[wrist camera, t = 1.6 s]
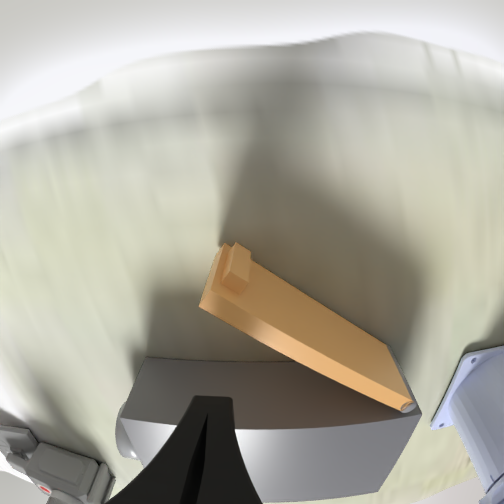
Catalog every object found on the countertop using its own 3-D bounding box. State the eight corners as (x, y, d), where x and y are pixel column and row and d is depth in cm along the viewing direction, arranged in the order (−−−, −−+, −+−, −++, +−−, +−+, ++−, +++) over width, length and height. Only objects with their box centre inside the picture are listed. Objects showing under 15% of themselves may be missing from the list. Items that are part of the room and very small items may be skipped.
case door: (399, 341, 17) (428, 395, 13) (382, 358, 17) (407, 414, 13) (231, 232, 15) (219, 276, 11) (214, 256, 15) (197, 307, 11)
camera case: (394, 355, 18) (422, 413, 13) (364, 440, 21) (377, 491, 16) (122, 354, 18) (92, 412, 14) (151, 439, 21) (137, 490, 17)
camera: (97, 572, 15) (-13, 517, 16) (123, 489, 26) (21, 453, 27) (58, 550, 12) (-56, 478, 12) (99, 449, 23) (-9, 408, 23)
